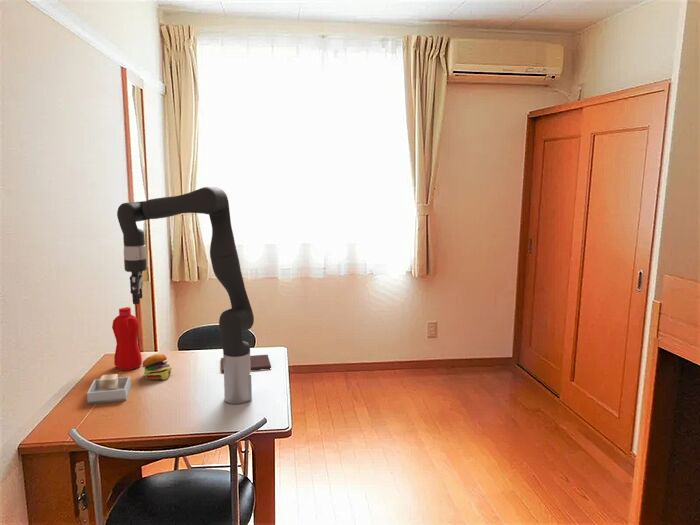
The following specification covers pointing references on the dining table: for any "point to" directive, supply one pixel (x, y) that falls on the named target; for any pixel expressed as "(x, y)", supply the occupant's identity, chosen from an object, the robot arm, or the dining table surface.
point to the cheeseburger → (156, 367)
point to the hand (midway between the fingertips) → (137, 301)
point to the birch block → (109, 382)
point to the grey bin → (109, 392)
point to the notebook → (254, 362)
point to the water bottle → (126, 340)
